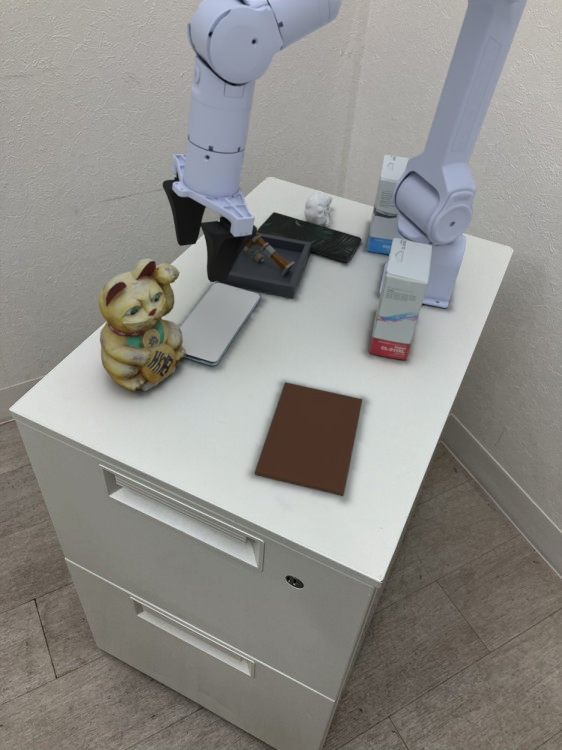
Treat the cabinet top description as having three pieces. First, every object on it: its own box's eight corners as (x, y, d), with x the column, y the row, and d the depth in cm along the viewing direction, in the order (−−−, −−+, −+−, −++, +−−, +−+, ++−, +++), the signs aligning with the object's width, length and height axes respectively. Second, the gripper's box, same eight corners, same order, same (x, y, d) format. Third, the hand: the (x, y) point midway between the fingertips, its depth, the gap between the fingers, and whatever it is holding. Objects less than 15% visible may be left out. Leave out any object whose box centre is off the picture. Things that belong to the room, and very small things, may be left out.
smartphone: (162, 348, 69) (215, 280, 79) (162, 351, 69) (215, 284, 79) (215, 364, 67) (262, 294, 77) (215, 368, 68) (262, 297, 78)
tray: (310, 253, 86) (311, 242, 85) (293, 298, 78) (294, 287, 77) (242, 240, 88) (242, 229, 86) (218, 283, 80) (218, 272, 78)
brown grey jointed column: (243, 243, 84) (254, 223, 81) (282, 280, 84) (295, 261, 81) (235, 249, 83) (246, 228, 80) (275, 286, 83) (288, 267, 79)
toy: (332, 190, 95) (308, 188, 95) (333, 192, 88) (306, 189, 88) (328, 225, 97) (304, 223, 97) (328, 230, 90) (302, 227, 90)
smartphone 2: (348, 259, 84) (255, 230, 87) (347, 264, 85) (255, 236, 88) (362, 237, 89) (273, 210, 92) (361, 242, 89) (273, 216, 93)
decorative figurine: (139, 410, 62) (121, 300, 52) (85, 378, 65) (57, 267, 55) (196, 361, 68) (190, 253, 58) (144, 333, 71) (129, 226, 61)
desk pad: (361, 401, 65) (362, 398, 65) (343, 495, 56) (343, 493, 56) (284, 385, 67) (285, 382, 66) (254, 474, 57) (254, 471, 57)
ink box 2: (406, 362, 71) (429, 283, 62) (366, 353, 71) (385, 275, 63) (412, 319, 77) (434, 243, 68) (375, 312, 77) (393, 235, 69)
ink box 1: (397, 256, 87) (415, 183, 79) (365, 251, 88) (379, 178, 79) (400, 228, 93) (417, 157, 85) (370, 223, 94) (384, 152, 85)
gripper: (148, 112, 58) (142, 232, 67) (215, 176, 50) (199, 303, 59) (209, 112, 62) (196, 226, 71) (281, 172, 54) (256, 292, 63)
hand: (201, 260), depth 65 cm, fingers open, 7 cm apart
